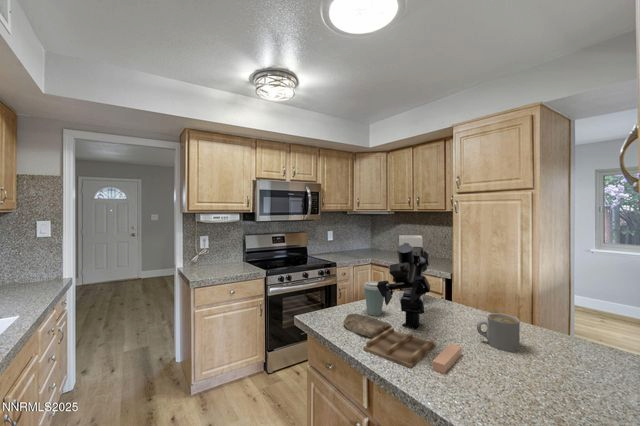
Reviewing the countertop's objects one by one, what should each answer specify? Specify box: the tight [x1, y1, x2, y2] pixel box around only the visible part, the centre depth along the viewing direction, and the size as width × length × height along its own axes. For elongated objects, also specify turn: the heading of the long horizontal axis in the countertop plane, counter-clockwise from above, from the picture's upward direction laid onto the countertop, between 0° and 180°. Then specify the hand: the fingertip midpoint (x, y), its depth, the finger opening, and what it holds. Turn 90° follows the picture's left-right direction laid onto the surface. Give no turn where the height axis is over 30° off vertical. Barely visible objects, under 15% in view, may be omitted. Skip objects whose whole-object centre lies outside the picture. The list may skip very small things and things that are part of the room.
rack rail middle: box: [386, 332, 414, 355], centre depth 107 cm, size 18×1×2 cm, turn 137°
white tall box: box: [398, 234, 424, 304], centre depth 161 cm, size 11×11×35 cm
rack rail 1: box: [365, 326, 395, 348], centre depth 113 cm, size 18×1×2 cm, turn 137°
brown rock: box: [342, 313, 393, 338], centre depth 125 cm, size 14×5×20 cm
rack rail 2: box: [408, 338, 435, 363], centre depth 102 cm, size 18×1×2 cm, turn 137°
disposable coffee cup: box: [363, 281, 385, 317], centre depth 142 cm, size 11×11×15 cm
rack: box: [363, 330, 437, 369], centre depth 107 cm, size 20×18×1 cm
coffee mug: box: [476, 312, 521, 353], centre depth 110 cm, size 13×10×10 cm
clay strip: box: [432, 343, 463, 375], centre depth 98 cm, size 16×4×3 cm, turn 137°
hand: (398, 303), depth 104 cm, fingers open, 9 cm apart
